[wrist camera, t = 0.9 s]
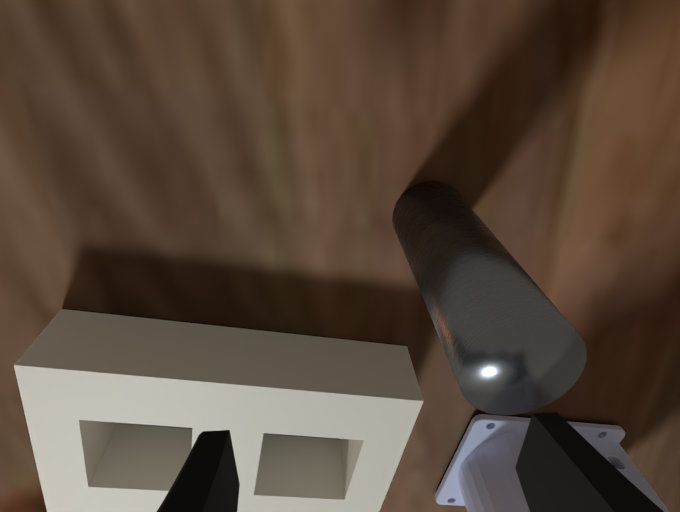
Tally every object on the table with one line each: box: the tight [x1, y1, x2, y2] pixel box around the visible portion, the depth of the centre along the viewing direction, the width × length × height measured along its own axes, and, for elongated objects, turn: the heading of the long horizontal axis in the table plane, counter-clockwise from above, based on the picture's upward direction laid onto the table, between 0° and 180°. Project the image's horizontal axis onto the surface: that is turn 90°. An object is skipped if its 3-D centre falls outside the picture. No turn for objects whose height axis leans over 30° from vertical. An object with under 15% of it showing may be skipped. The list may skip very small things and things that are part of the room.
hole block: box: [14, 309, 423, 512], centre depth 21 cm, size 16×10×4 cm, turn 79°
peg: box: [393, 181, 587, 415], centre depth 14 cm, size 3×3×9 cm
